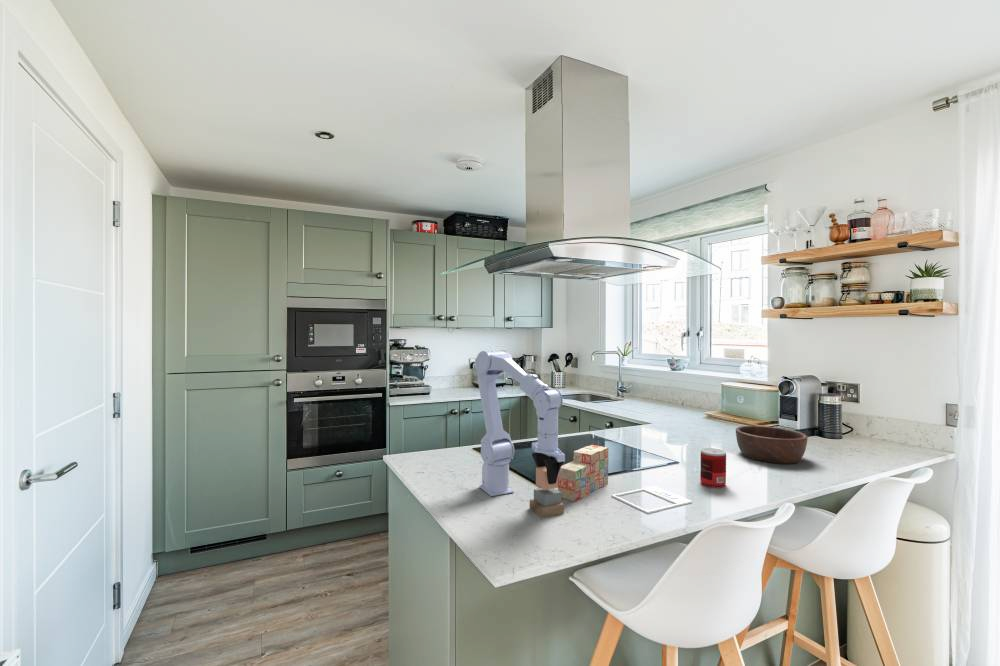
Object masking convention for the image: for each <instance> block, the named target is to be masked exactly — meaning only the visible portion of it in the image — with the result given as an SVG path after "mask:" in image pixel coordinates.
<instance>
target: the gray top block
mask: <svg viewBox="0 0 1000 666" xmlns="http://www.w3.org/2000/svg"><path fill="white" fill-rule="evenodd" d="M533 499H534V500H535V501H536V502H538V503H540V504H541V505H543V506H550V505H554V504H559V503H562V498H561V492H560V491H558V489H556V488H553V489H547V490H543V489H542V488H540V487H539V488H534V489H533Z"/></svg>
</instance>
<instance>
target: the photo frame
mask: <svg viewBox="0 0 1000 666" xmlns="http://www.w3.org/2000/svg"><path fill="white" fill-rule="evenodd" d="M645 491H646V493H648V494H651V495H652V496H655V497H658V498H660V499H663V500H665V501H668V502H670V503H672V504H670V505H667V506H666V505H665V506H661V507H657V508H653V509H649V510H647V509H645V508H642V507H641V506H639V505H636V504H634V503H632V502H630V501H628V500H626V499H623V498H621V496H625V495H626V494H627V495H631V494H636V493H640V492H645ZM627 495H626V496H627ZM611 497H612V498H614V499H615V500H617V501H620V502H622V503H623V504H627V505H628V506H630V507H633V508H634V509H636V508H637V509H636V510H638V511H640V512H643V513H645V514H647V515H649V514H652V513H653V514H654V513H656V512H657V513H658V512H661V511H666V510H670V509H673V508H677V507H682V506H685V505H689V504H692V503H693V500H691V499H687V498H685V497H684V496H680V495H679V494H676V493H673V492H670V491H668V490H666V489H663V488H660V487H658V486H655V485H654V486H648V487H643V488H638V489H634V490H629V491H625V492H620V493H619V492H618V493H616V494H611Z"/></svg>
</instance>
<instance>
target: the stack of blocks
mask: <svg viewBox="0 0 1000 666" xmlns="http://www.w3.org/2000/svg"><path fill="white" fill-rule="evenodd" d="M608 484H609V447H606V446H601V445H596V444H590V445H587V446H584V447H582V448H578V449H577V450H574V451H573V460H572V461H570V462H568V463H565V464H562V466H561V468H560V470H559V473H558V488H557V490H558V491H560V492H561V499H565V500H568V501H570V502H571V501H572V502H577V501H579V500H580V499H583V498H585V497H586V495H587V496H589V495H590V494H592V493H594V492H595V491H597V490H598V489H601V488H603V487H604V486H607V485H608Z"/></svg>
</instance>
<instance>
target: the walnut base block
mask: <svg viewBox="0 0 1000 666" xmlns="http://www.w3.org/2000/svg"><path fill="white" fill-rule="evenodd" d="M529 509H530V510H531V511H532V512H533V513H534V514H537V516H540V518H542V519H543V518H547V517H548V518H549V517H552V516H553V517H554V516H557V515H563V514H565V504H564V503H563V502H561V503H559V504H554V505H550V506H543V505H541V504H540V503H538V502H536V501H535V500H534V498H530V499H529Z"/></svg>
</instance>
